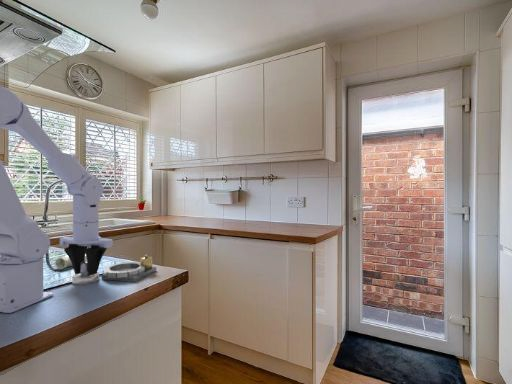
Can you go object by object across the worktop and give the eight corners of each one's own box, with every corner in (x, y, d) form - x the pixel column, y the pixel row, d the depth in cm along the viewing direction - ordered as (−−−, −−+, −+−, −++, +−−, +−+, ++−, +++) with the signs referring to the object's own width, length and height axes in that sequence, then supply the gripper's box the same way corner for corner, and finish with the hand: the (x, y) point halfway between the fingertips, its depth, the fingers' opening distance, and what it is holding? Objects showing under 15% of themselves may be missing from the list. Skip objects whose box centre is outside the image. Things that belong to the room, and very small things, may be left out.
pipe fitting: (93, 264, 91) (73, 262, 91) (94, 252, 91) (74, 250, 91) (76, 271, 83) (54, 269, 83) (77, 258, 83) (55, 256, 83)
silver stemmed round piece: (87, 285, 70) (86, 265, 70) (66, 284, 71) (65, 265, 71) (104, 277, 76) (103, 259, 76) (84, 276, 77) (84, 258, 77)
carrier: (132, 283, 72) (132, 264, 71) (94, 280, 74) (94, 261, 74) (156, 270, 82) (156, 253, 82) (122, 268, 85) (122, 251, 85)
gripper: (120, 220, 75) (120, 270, 76) (75, 219, 78) (75, 267, 79) (101, 224, 69) (101, 279, 69) (52, 222, 72) (52, 275, 72)
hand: (86, 273), depth 73 cm, fingers open, 4 cm apart
